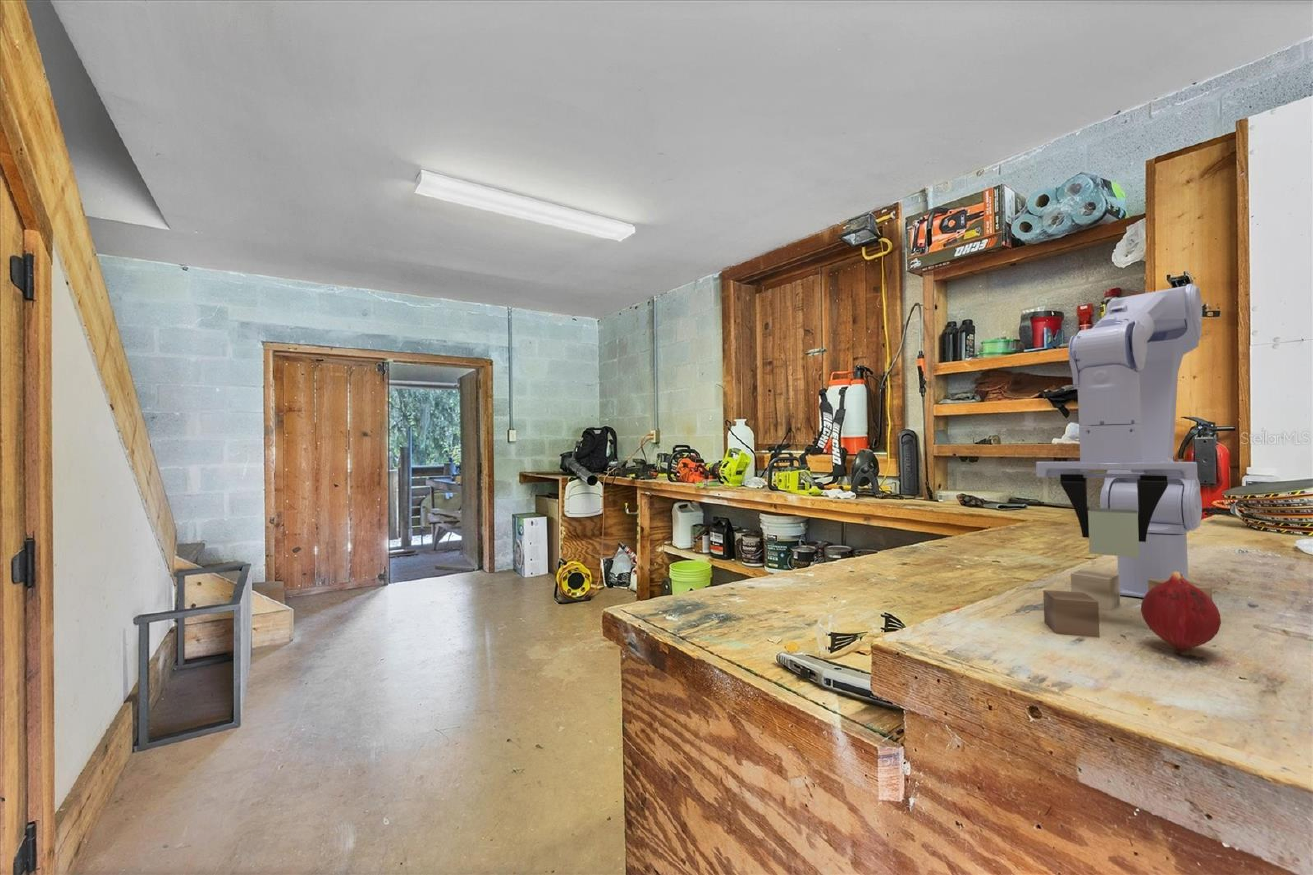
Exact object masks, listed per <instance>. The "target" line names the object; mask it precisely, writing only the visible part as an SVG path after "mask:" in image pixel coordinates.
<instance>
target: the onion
mask: <svg viewBox="0 0 1313 875" xmlns="http://www.w3.org/2000/svg"><path fill="white" fill-rule="evenodd" d="M1188 581H1189V580H1188ZM1188 581H1187V580H1186V579H1185V578H1184V577H1183V575H1182V574H1181V573H1179V572H1176V571H1174V572H1173V573H1171V577H1170V579H1169V580H1168V581H1166V582H1164V583H1162V584H1159V585H1157V586H1155V587H1154V588H1152V589H1151V590H1150V591H1149V592H1148V593H1147V594H1146V595H1145V597H1144V598H1143V597H1142V598H1143V599H1142V600H1141V603H1140V604H1141V606H1140V607H1141V608H1140V612H1141V614H1142V618H1143V620H1144V621H1145V623H1146V625H1147V626H1148V627H1149V629H1150V630H1151V631H1152V632H1153V633H1154V634H1155V635H1156V636H1157V637H1159V638H1160V639H1161V640H1163V641H1164V642H1166V643H1167V644H1168V645H1170V646H1171V647H1172V649H1175V650H1177V651H1179V652H1180V651H1182V652H1184V651H1188V650H1191V649H1193V648H1196V647H1199V646H1202V645H1205V644H1206V643H1208V642H1210V641H1212V640H1213V638H1214V637H1216V636H1217V634H1218V633H1219V630H1220V627H1221V624H1222V619H1221V614H1220V611H1219V608H1218V607H1217V605H1216V603H1215V602H1214V601H1213V599H1212V600H1211V599H1210V598H1209V596H1208V595H1206V594H1205V593H1204V592H1203V591H1202V590H1200V589H1199V588H1197V587H1195V586H1194V585H1192V584H1190V583H1189V582H1188Z"/></svg>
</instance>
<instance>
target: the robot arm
mask: <svg viewBox="0 0 1313 875" xmlns="http://www.w3.org/2000/svg"><path fill="white" fill-rule="evenodd" d="M1202 322H1203V299H1202V294H1201V290H1200V287H1199V286H1197V285H1195V284H1194V283H1187V284H1186V285H1183V286H1179V287H1177V286H1176V287H1172V288H1168V289H1166V288H1165V289H1161V290H1157V291H1156V290H1155V291H1151V292H1150V291H1149V292H1145V293H1140V294H1134V295H1128V296H1124V297H1117V296H1116V297H1112V298H1111V299H1110V301H1108V303H1107V304H1106V307H1105V315H1103V316H1102V317H1101V319H1099V320H1098V321H1097V322H1096V324H1095V325H1093V326H1092V328H1088V329H1087V328H1086V329H1082V330H1079V331H1078V333H1077V335H1075V334H1074V335H1072V336H1071V337H1070V339H1069V342H1068V349H1067V350H1068V362H1069V366H1070V369H1071V375H1072V385H1073V389H1074V390H1077V405H1078V406H1077V407H1078V432H1079V433H1078V437H1079V460H1078V461H1076V460H1075V461H1065V460H1064V461H1036V463H1035V469H1036V470H1035V472H1036V473H1035V476H1036V478H1050V477H1051V478H1060V479H1059V480H1060V481H1059V484H1060V485H1061V487H1062V489H1063V491H1064V492H1065V494H1066V496H1067V498H1068V499H1069V501H1070V503H1071V505H1072V507H1073V509H1074V512H1075V514H1076V516H1077V519H1078V522H1079V527H1080V530H1081V536H1082V538H1086V539H1087V538H1088V539H1089V522H1088V510H1089V509H1088V489H1087V488H1088V487H1087V486H1088V485H1087V484H1088V482H1087V478H1097V479H1103V478H1104V482H1103V485H1102V487H1101V490H1100V496H1099V497H1100V498H1099V505H1100V506H1099V508H1108V509H1130V510H1137V513H1138V534H1139V558H1136V557H1125V556H1116V557H1117V574H1118V575H1119V593H1120V595H1121V596H1128V597H1138V598H1144V597H1145V595H1146V594H1147V593H1148V579H1170V577H1171V573H1173V572H1174V571H1176V572H1179V573H1181V574H1182V575H1183V577H1184V578H1185V579H1186V580H1187V581H1189V564H1188V562H1189V561H1188V539H1187V538H1188V536H1187V533H1189V532H1190V531H1195V530H1196V529H1197V528H1198V527H1200V525H1201V522H1202V517H1203V514H1202V513H1203V504H1202V503H1203V502H1202V495H1201V483H1200V480H1199V478H1198V462H1196V461H1175V460H1174V454H1175V453H1174V451H1175V435H1176V433H1175V432H1176V431H1175V430H1176V418H1177V416H1176V414H1177V401H1178V400H1177V398H1178V396H1177V395H1178V382H1179V381H1178V380H1179V378H1178V377H1179V371H1180V367H1181V365H1182V361H1183V357H1184V356H1185V355H1186V354H1188V353H1190V352H1191V351H1194V350H1195V349H1197V348H1199V345H1200V344H1199V343H1200V340H1201V339H1202V324H1203V323H1202ZM1092 470H1095V471H1097V470H1098V471H1101V470H1103V471H1106V472H1105V473H1101V472H1100V473H1099V472H1096V473H1094V472H1092Z"/></svg>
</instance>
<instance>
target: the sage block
mask: <svg viewBox="0 0 1313 875" xmlns="http://www.w3.org/2000/svg"><path fill="white" fill-rule="evenodd" d="M1087 510H1088V522H1089V538H1088V543H1089V544H1088V545H1089V548H1088V549H1089V551H1088V552H1089V554H1092V555H1093V554H1094V555H1105V556H1114V557H1115V556H1116V557H1117V556H1125V557H1136V558H1139V534H1138V513H1137V510H1130V509H1108V508H1100V507H1088V509H1087Z"/></svg>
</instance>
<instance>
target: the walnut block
mask: <svg viewBox="0 0 1313 875" xmlns="http://www.w3.org/2000/svg"><path fill="white" fill-rule="evenodd" d="M1042 592H1043V616H1044V617H1043V619H1044V624H1045V625H1046V626H1048V628H1049V629H1051V630H1052V632H1054V634H1056V635H1064V636H1065V635H1067V636H1077V637H1086V638H1087V637H1088V638H1099V639H1100V636H1101V635H1100V615H1099V614H1100V611H1099V609H1100V608H1099V606H1098V601H1096V600H1095V599H1093V598H1091V597H1090V596H1088V595H1087V594H1085V593H1084V592H1071V591H1068V590H1067V591H1066V590H1065V591H1064V590H1051V589H1050V590H1049V589H1043V591H1042Z"/></svg>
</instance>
